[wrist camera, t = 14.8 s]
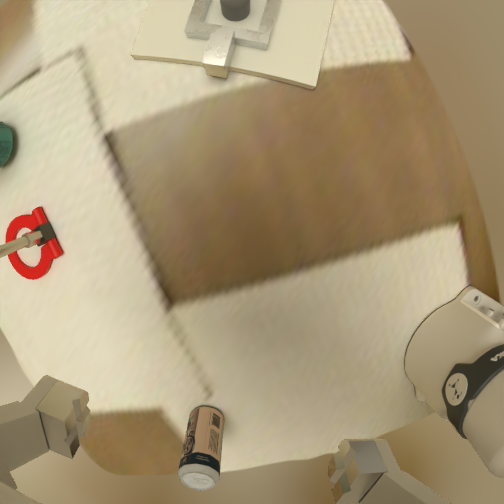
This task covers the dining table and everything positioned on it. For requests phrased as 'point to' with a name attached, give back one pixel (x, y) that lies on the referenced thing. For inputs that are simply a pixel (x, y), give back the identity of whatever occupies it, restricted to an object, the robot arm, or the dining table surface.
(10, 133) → the beverage bottle
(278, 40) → the board
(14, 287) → the dining table surface
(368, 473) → the robot arm
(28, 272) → the tow hook
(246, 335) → the dining table surface
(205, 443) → the beer can
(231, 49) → the steel link
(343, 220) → the dining table surface
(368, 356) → the dining table surface
